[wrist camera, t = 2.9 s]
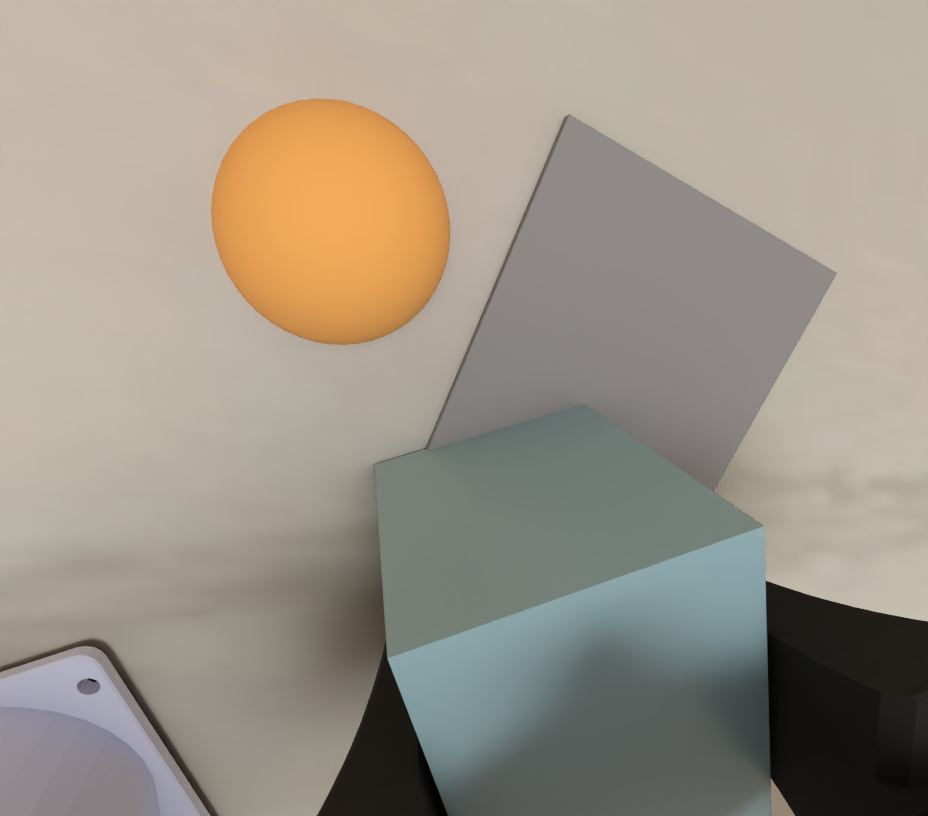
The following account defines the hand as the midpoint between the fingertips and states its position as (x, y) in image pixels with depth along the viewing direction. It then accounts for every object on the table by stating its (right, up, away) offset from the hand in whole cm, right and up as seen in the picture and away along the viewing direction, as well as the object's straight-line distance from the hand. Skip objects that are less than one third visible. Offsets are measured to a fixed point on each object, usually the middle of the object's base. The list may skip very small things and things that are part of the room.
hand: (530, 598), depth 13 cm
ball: (-4, +8, -4) cm, 10 cm away
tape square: (+3, +6, 0) cm, 7 cm away
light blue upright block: (0, +1, +2) cm, 2 cm away
